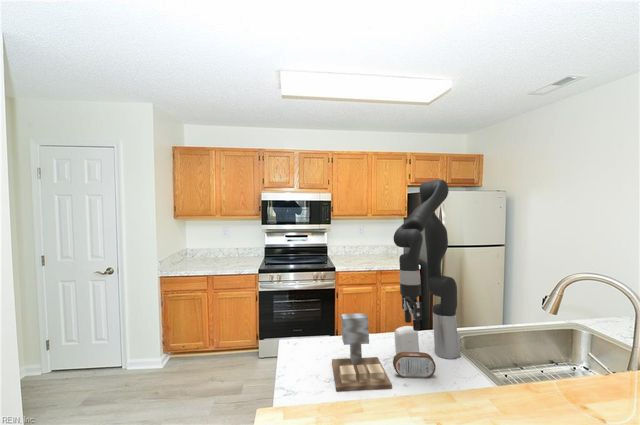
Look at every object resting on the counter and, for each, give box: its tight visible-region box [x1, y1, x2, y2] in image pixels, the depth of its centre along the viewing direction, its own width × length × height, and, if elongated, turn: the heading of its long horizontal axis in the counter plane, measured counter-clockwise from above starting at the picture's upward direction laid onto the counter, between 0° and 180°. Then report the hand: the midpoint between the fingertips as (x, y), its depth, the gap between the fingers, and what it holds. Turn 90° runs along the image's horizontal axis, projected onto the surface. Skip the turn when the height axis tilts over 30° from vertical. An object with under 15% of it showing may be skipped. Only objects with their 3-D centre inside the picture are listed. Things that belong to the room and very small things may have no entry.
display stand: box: [331, 312, 393, 392], centre depth 103 cm, size 19×20×20 cm
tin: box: [392, 351, 437, 379], centre depth 100 cm, size 15×3×8 cm, turn 84°
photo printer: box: [394, 325, 420, 355], centre depth 116 cm, size 10×4×12 cm, turn 104°
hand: (412, 326), depth 101 cm, fingers open, 8 cm apart
